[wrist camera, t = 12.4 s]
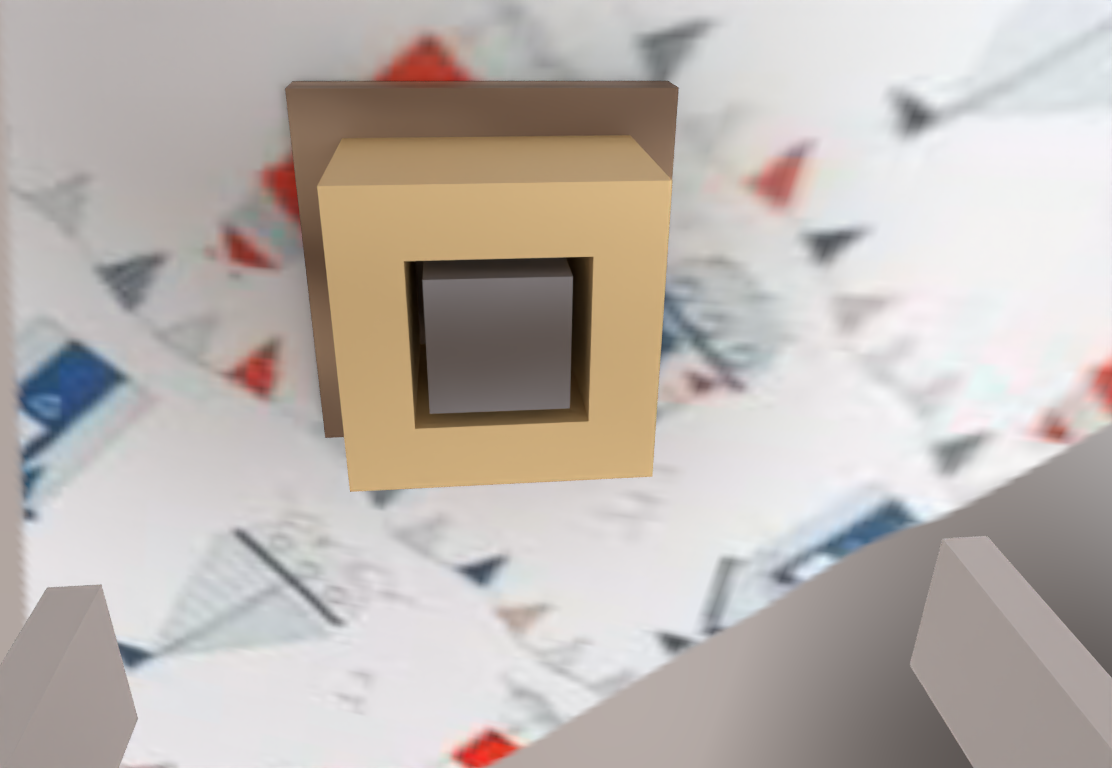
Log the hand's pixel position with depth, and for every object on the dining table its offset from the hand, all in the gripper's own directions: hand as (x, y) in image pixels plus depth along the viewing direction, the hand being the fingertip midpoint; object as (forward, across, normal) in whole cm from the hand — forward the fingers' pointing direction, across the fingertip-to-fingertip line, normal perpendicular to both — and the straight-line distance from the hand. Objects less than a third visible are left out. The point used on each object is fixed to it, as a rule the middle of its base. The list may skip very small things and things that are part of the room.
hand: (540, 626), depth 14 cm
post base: (+19, 0, 0) cm, 19 cm away
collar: (+18, 0, 0) cm, 18 cm away
